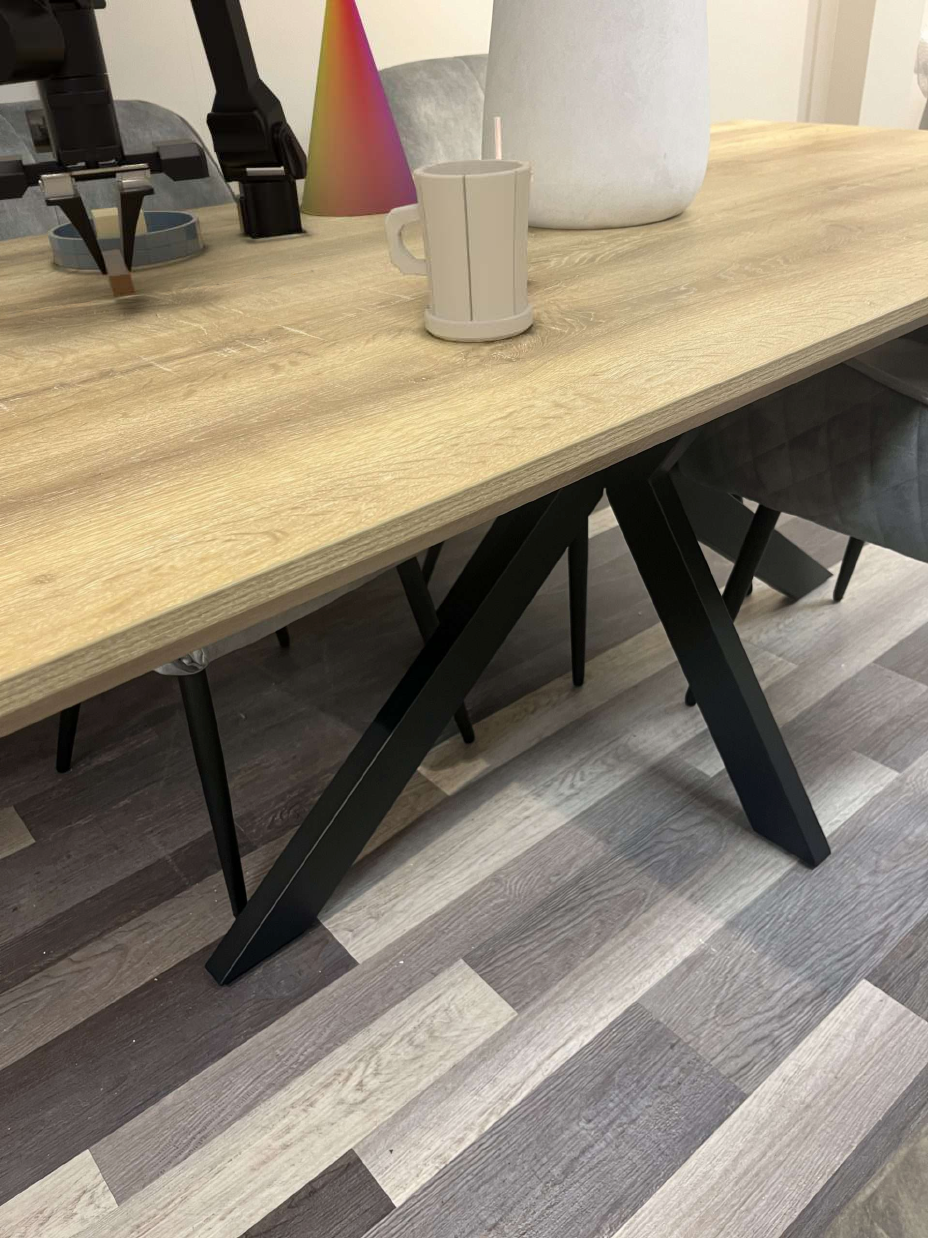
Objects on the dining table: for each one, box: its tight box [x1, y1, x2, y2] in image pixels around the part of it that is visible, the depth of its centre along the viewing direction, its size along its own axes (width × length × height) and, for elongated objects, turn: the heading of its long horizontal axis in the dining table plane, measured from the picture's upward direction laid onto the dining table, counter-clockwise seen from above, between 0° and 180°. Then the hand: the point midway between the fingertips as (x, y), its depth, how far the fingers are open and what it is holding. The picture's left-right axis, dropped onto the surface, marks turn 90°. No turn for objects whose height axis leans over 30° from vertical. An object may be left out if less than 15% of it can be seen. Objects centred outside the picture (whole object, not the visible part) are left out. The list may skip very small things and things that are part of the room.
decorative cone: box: [300, 0, 418, 217], centre depth 126 cm, size 16×16×30 cm
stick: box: [102, 249, 136, 297], centre depth 90 cm, size 9×2×2 cm, turn 22°
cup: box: [383, 158, 534, 343], centre depth 77 cm, size 10×9×12 cm
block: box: [91, 206, 148, 238], centre depth 107 cm, size 5×5×5 cm
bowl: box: [47, 210, 205, 271], centre depth 111 cm, size 16×16×4 cm
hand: (116, 272), depth 90 cm, fingers closed on stick, 2 cm apart
